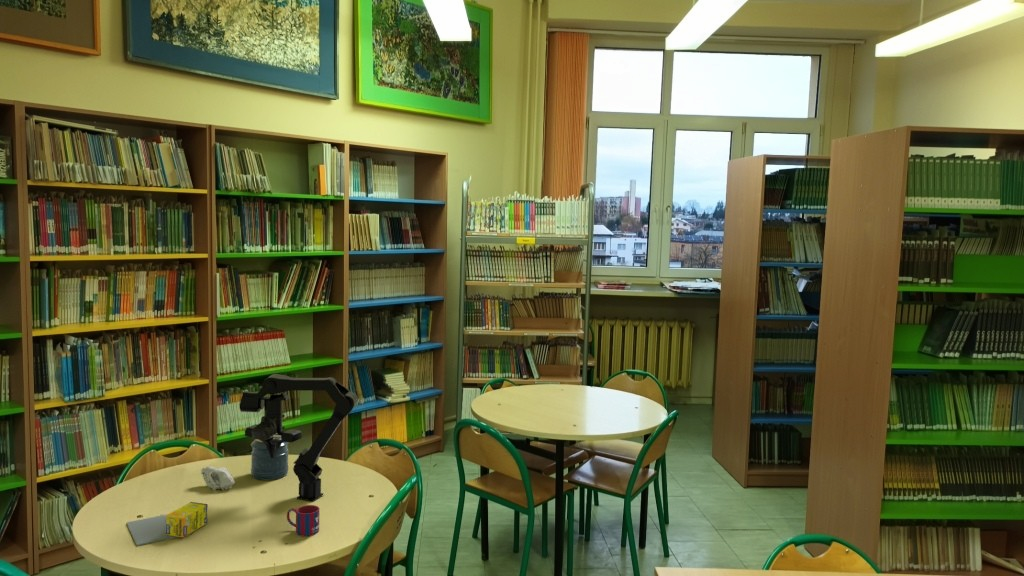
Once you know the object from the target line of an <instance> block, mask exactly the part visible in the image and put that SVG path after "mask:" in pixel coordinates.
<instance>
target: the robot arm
mask: <svg viewBox="0 0 1024 576" xmlns="http://www.w3.org/2000/svg"><path fill="white" fill-rule="evenodd" d="M261 386H262V387H261V388H260V390H258V391H249V390H245V391H243V392H242V394H241V399H240V402H239V410H240V412H241V413H260V412H261V411H262V410H263V409H264V410H263V411H264V412H263V415H262V416H261V418H260V423H258V424H253V425H250V426H247V427H246V428H245V429H244V437H246V438H248V437H249V438H253V441H255V440H256V439H258V440H260V441H262V442H264V443H265V445H266V447H267V449H268V452H269V455H270V458H271V459H274V458H275V456H276V454H277V452H278V450H279V448H280V446H281V444H282V442H289V443H294V442H296V441H298V440H301V439H302V435H303V434H302V431H301V430H300V429H294V428H293V429H288V430H285V429H286V428H285V426H284V425H283V419H284V418H285V416H286V415H285V413H283V401H287V400H288V399H289V398H290V396H289V395H288V394H287V393H286V392H291V391H319V392H321V391H325V392H326V393H327V394H328V396H329V398H330V399H331V400H332V401H333V403H334V404H335V406H334V407H333V412H332V414H331V417H330V418H329V419H328V421H327V423H326V424H325V425H324V427H323V428H322V430H321V431H320V433H319V434H318V436H317V437H316V439H315V440H314V441H313V443H312V445H311V446H310V448H308V449H307V448H306V447H305V448H304V449H303V450H302V451H301V452H299V455H298V456H297V458H296V460H295V461H294V462H293V469H292V470H293V473H294V475H295V476H296V477H297V479H298V481H299V483H298V496H297V497H296V499H297V500H303V501H309V502H314V501H316V500H317V499H319V498H321V497H323V496H324V495H323V494H324V493H323V492H322V478H320V476H321V475H322V472H323V468H321V466H320V465H319V464H318V461H319V458H320V455H321V453H322V451H323V450H324V448H325V447H326V445H327V444H328V442H329V440H330V439H331V438H332V436H333V435H334V433H335V432H336V430H337V428H338V427H339V426H340V424H341V423H342V421H343V420H345V418H346V417H347V416H348V415H349V413H351V412H352V411H353V410H354V409H355V408H356V406H357V405H358V403H359V398H358V396H357V394H356V393H355V392H353V391H350V390H349V389H348V388H347V387H346V386H344V385H343V384H342V383H340V382H338V381H337V379H336V378H334V377H291V376H289V375H285V374H279V373H273V374H271V375H270V376H268V377H267V378H265V379H264V380H263V381H262V385H261ZM269 395H270V396H269ZM284 430H285V431H284ZM276 433H277V434H276ZM289 443H288V444H289ZM322 495H323V496H322ZM320 496H321V497H320Z"/></svg>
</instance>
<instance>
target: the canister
mask: <svg viewBox="0 0 1024 576" xmlns="http://www.w3.org/2000/svg"><path fill="white" fill-rule="evenodd" d="M276 434H277V433H276ZM288 444H289V442H282V444H281V446H280V448H279V450H278V452H277V454H276V456H275V458H274V459H271V458H270V455H269V452H268V449H267V447H266V445H265V443H264V442H262V441H260V440H258V439H256V440H253V441H252V442H251V443H250V446H251V448H252V451H251V452H250V454H251V455H250V456H251V459H250V461H251V467H250V474H251V478H253V479H255V480H258V481H259V480H260V481H269V480H270V481H272V480H277V479H281V478H283V477H285V476H287V475H288V473H289V472H288V471H289V452H290V451H289V449H288Z"/></svg>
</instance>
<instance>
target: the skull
mask: <svg viewBox="0 0 1024 576" xmlns="http://www.w3.org/2000/svg"><path fill="white" fill-rule="evenodd" d="M200 473H201V475H202V478H203V480H204V482H205V484H206V486H207V487H208V488H210V489H212V490H213V491H214V492H215V491H217V489H221V491H224V489H225V490H227V491H228V489H230V488H231V487H232V486H233V485H234V484H235V480H234V478H233V476H232V474H231V473H230V472H229V471H228V469H227V467H223V466H222V467H214V466H212V465H207V466H205V467H202V468H201V472H200Z"/></svg>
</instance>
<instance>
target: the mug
mask: <svg viewBox="0 0 1024 576" xmlns="http://www.w3.org/2000/svg"><path fill="white" fill-rule="evenodd" d="M290 512H294V513H295V523H294V522H293V521H292V520H291V517H290ZM286 520H287V522H288V523H289V525H291V526H292V527H295V534H296V535H297V536H300V537H311V536H314V535H316V534H317V533H319V532H320V507H319V506H318V505H314V504H306V505H305V504H304V505H302V506H298V507H297V508H290V509H289V510H288V511H287V512H286Z"/></svg>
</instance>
